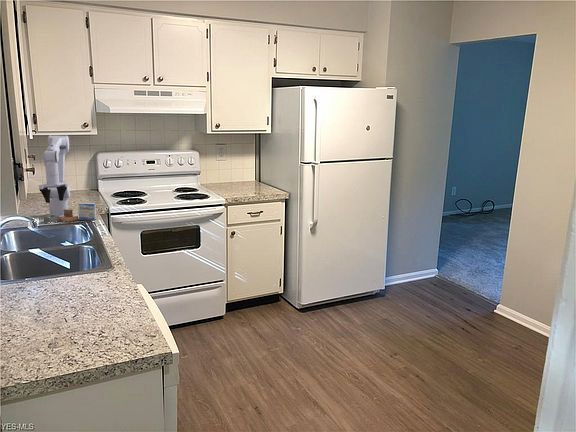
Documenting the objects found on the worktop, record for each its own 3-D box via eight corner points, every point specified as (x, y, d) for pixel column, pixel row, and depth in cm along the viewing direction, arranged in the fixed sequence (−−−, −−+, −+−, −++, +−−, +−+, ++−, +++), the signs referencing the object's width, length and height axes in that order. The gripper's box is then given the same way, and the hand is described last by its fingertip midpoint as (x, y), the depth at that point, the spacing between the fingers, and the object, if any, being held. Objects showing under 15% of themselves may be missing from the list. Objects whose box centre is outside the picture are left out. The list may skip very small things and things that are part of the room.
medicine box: (78, 220, 236) (78, 203, 234) (80, 218, 240) (79, 202, 238) (94, 220, 238) (94, 204, 236) (96, 218, 242) (95, 202, 240)
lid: (67, 221, 232) (67, 211, 231) (59, 220, 235) (58, 210, 234) (78, 219, 238) (77, 209, 237) (69, 217, 241) (68, 208, 240)
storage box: (43, 222, 231) (43, 216, 230) (52, 220, 235) (52, 214, 235) (50, 223, 229) (50, 217, 228) (59, 221, 233) (58, 215, 233)
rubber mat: (57, 220, 235) (57, 220, 235) (69, 218, 241) (69, 217, 241) (67, 222, 232) (67, 221, 232) (80, 219, 238) (80, 219, 238)
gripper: (44, 176, 220) (47, 204, 223) (70, 174, 233) (72, 200, 236) (34, 175, 223) (37, 203, 226) (60, 173, 236) (62, 199, 239)
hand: (54, 201), depth 231 cm, fingers open, 7 cm apart
